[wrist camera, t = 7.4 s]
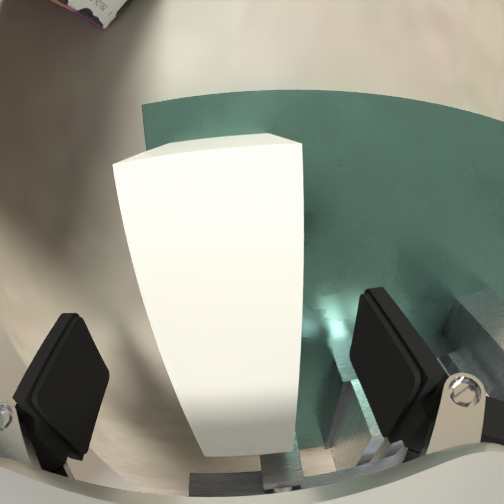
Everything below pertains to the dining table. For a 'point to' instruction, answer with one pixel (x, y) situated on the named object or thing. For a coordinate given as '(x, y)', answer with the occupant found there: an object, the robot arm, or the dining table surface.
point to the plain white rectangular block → (223, 281)
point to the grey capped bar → (254, 486)
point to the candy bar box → (95, 9)
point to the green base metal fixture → (375, 241)
